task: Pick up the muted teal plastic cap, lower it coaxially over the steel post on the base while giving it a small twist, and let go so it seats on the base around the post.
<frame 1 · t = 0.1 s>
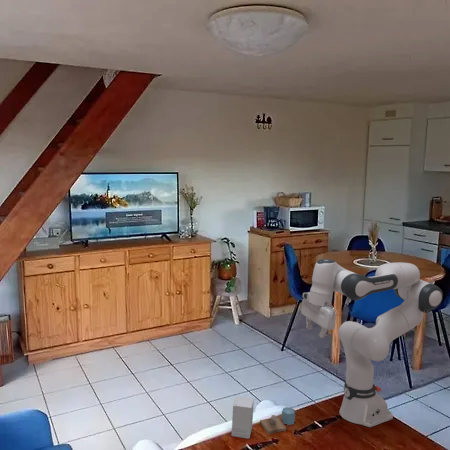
hand: (314, 333, 180), 39 cm above the table, tool pointing down, fingers open, 8 cm apart
supplement box: (242, 432, 177), on the table
teal cap: (287, 421, 185), on the table
post base: (273, 426, 181), on the table
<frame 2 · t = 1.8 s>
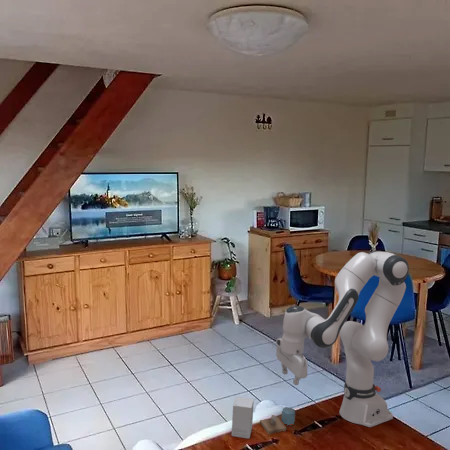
hand: (290, 378, 183), 19 cm above the table, tool pointing down, fingers open, 8 cm apart
nothing on the table moved.
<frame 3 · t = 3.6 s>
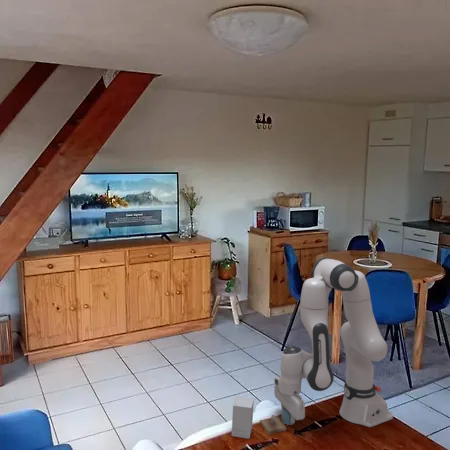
hand: (288, 418, 185), 2 cm above the table, tool pointing down, fingers closed on teal cap, 5 cm apart
teal cap: (287, 422, 185), on the table, touching gripper
everything else where it was.
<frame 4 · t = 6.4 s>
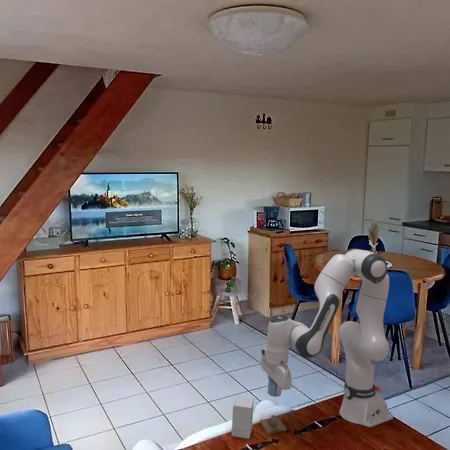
hand: (274, 389, 179), 16 cm above the table, tool pointing down, fingers closed on teal cap, 5 cm apart
teal cap: (274, 393, 180), point 14 cm above the table, touching gripper
everything else where it was.
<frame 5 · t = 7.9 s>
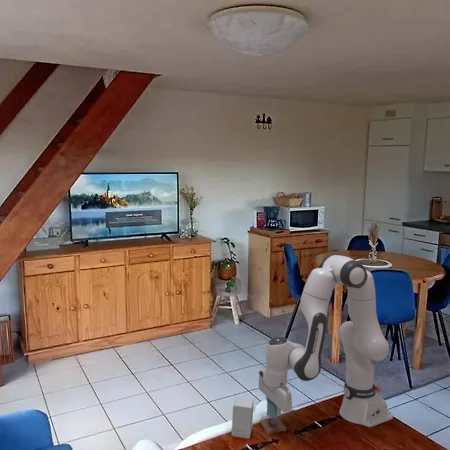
hand: (273, 410, 180), 7 cm above the table, tool pointing down, fingers closed on teal cap, 5 cm apart
teal cap: (273, 414, 181), point 5 cm above the table, touching gripper
everything else where it was.
when the fingers open (3 cm above the table, at t = 9.0 s): teal cap stays where it is, resting on post base.
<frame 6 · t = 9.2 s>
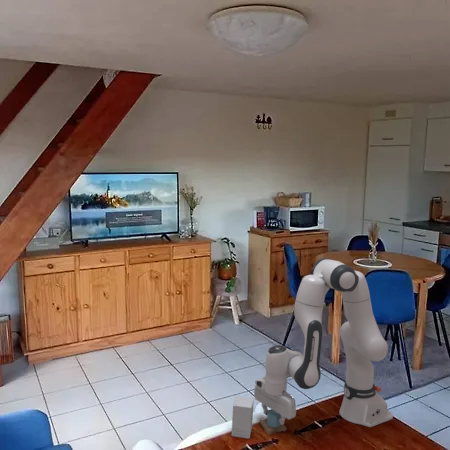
hand: (273, 418, 181), 3 cm above the table, tool pointing down, fingers open, 7 cm apart
teal cap: (273, 424, 181), point 1 cm above the table, touching post base
everything else where it was.
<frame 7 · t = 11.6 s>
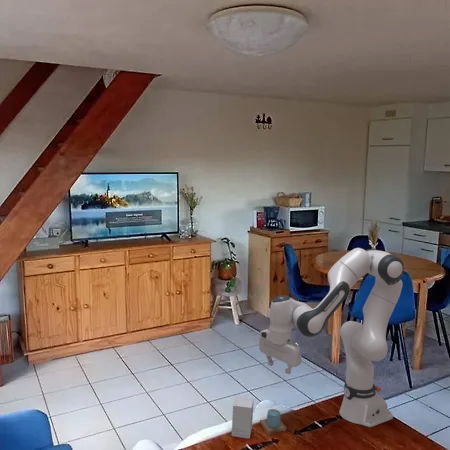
hand: (279, 369, 181), 23 cm above the table, tool pointing down, fingers open, 8 cm apart
nothing on the table moved.
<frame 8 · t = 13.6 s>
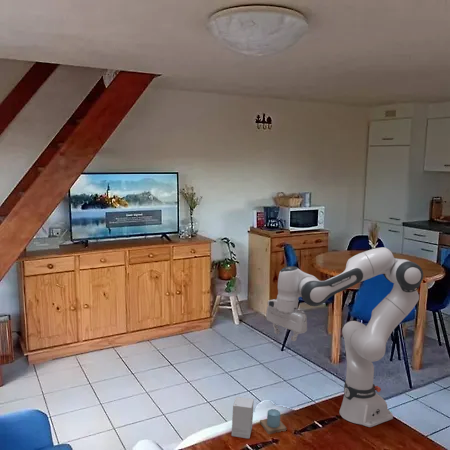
hand: (285, 337, 189), 33 cm above the table, tool pointing down, fingers open, 8 cm apart
nothing on the table moved.
at the end: teal cap 0.0 cm off-centre on the post base, point 1.2 cm above the post base's base; teal cap tilted 0°; the gripper is holding nothing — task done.
